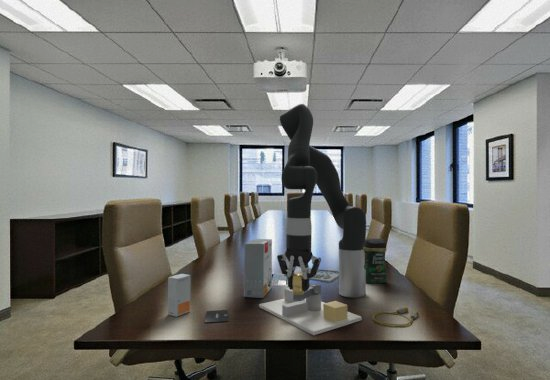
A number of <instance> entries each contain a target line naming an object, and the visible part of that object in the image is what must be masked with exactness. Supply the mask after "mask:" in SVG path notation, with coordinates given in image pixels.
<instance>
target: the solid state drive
mask: <svg viewBox="0 0 550 380" xmlns="http://www.w3.org/2000/svg"><path fill="white" fill-rule="evenodd" d="M215 323H229V310H228V309H219V310H206V313H205V318H204V324H215Z"/></svg>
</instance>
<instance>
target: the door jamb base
mask: <svg viewBox="0 0 550 380" xmlns="http://www.w3.org/2000/svg"><path fill="white" fill-rule="evenodd" d="M258 307H259V308H260V309H262V310H264V311H266V312H268V313H270V314H272V315H273V316H276V317H278V318H279V319H282V320H283V321H285V322H287V323H289V324H291V325H293V326H295V327H296V328H299V329H301V330H302V331H304V332H306V333H308V334H310V335H312V336H316V335H318V334H322V333H326V332H328V331H332V330H334V329H335V330H336V329H338V328H341V327H345V326H348V325H350V324H353V323H357V322H360V321H362V318H363V317H362V316H361V315H359V314H355V313H353V312H350V311H348V304H346V303H342V302H339V301H338V300H333V301H329V302H324V301H322V292H321V293H318V294H312V295H311V296H309V297H307V298H305V299H304V300H302V301H296V300H293V293H292V290H290V289H289V287H286V288H284V298H282V299H281V298H280V299H277V300H276V299H275V300H272V301H267V302H263V303H259V304H258Z"/></svg>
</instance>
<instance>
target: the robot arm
mask: <svg viewBox="0 0 550 380" xmlns="http://www.w3.org/2000/svg"><path fill="white" fill-rule="evenodd" d="M279 122H280V125H281V127H282V129H283V131H284V132H285V134H286V136H287V137H288V138H289V140H290V141H289V144H288V147H287V148H288V149H287V161H286V164H285V166H284V167H283V171H282V173H281V178H280V179H281V183H282V186H283V187H284V189H286V190H304V193H303V194H302V195H300V196H296V197H291V198H289V199H288V200H287V204H286V205H287V215H286V216H287V220H286V226H285V227H286V229H285V233H286V235H285V237H286V238H285V239H286V240H285V241H286V242H285V243H286V244H285V247H286V250H285V253H281V254H280V253H279V254H278V255H277V256H276V259H277V263H278V265H279V268H280V271H281V274H282V275H284V274H285V275H287V276H286V277H287V288H289V289H290V290H292V274H294V271H295V270H296V269H297V268H298V267H299V268H301V271H302V273H303V278H304V279H303V291H304V292H306V291H307V290H308V289H309V284H310V281H311V280H310V278H312V277H314V276H315V275H316V273H317V270H318V268H319V267H320V264H321V262H322V258H321V257H317V256H314V254H313V251H312V231H313V230H312V228H313V227H312V226H313V225H312V220H311V219H312V217H311V216H312V198H313V194H314V190H315V188H316V186H317V188H318V190H319V191H320V194H321V195H322V197H323V198H324V199H325V201H326V203H327V206H328V207H329V209H330V212H331V214H332V216H333V219H334V221H335V223H336V225H337V226H338V227H339V228H340V229H342V238H341V239H340V240H339V241H338V271H339V277H338V293H339V295H340V296H341V297H345V298H362V297H364V296H365V295H366V293H367V291H366V290H367V285H366V284H367V282H366V270H365V268H364V261H365V252H364V243H365V240H366V239H367V217H366V213H365V212H364V210H363V208H361V207H358V206H352V205H350V202H348V200H347V198H346V197H345V195H344V193H343V191H342V188H341V180H340V176H339V172H338V170H337V168H336V166H335V164H334V163H333V161H332V159H331V158H330V156H329V155H327V154H326V153H324V152H323V151H320V150H319V149H317V148H315V147H313V146H312V145H311V144H310V143H311V137H312V132H313V126H314V116H313V114H312V112H311V110H310V109H309V107H308V106H307V105H306V104H304V103H299V104H297V105H295V106H293V107H292V108H290V109H288V110H287V111H285V112H284V113H282V114H281V115H280V116H279ZM286 260H288V263H289V264H287V261H286ZM310 261H311V264H312V267H311V272H310V273H309V267H310V266H309V263H310Z"/></svg>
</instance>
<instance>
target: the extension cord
mask: <svg viewBox="0 0 550 380" xmlns="http://www.w3.org/2000/svg"><path fill="white" fill-rule="evenodd" d="M407 312H409V309H408V307H407V306H402V307H399V308H398V309H396V311H393V312H388V311H387V312H386V311H384V312H382V311H381V312H376V313H374V314H373V316H372V320H373V322H375V323H376V324H378V325H380V326H385V327H391V328H405V327H406V328H407V327H410V326H412V325H413V320H416V319H417V317H418V316H420V315H419V314H420V313H419V312H418V311H416V310H414V311H412V312H411V313H410V318H409V317H407V316H405V315H402V314H405V313H407ZM385 314H390V315H397V316H401V317H403V318H404V319H407V320H408V321H409V322H408V323H404V324H403V323H401V324H396V323H388V322H384V321H383V322H382V321H379V320H376V319H375V317H376V316H379V315H385Z"/></svg>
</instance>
